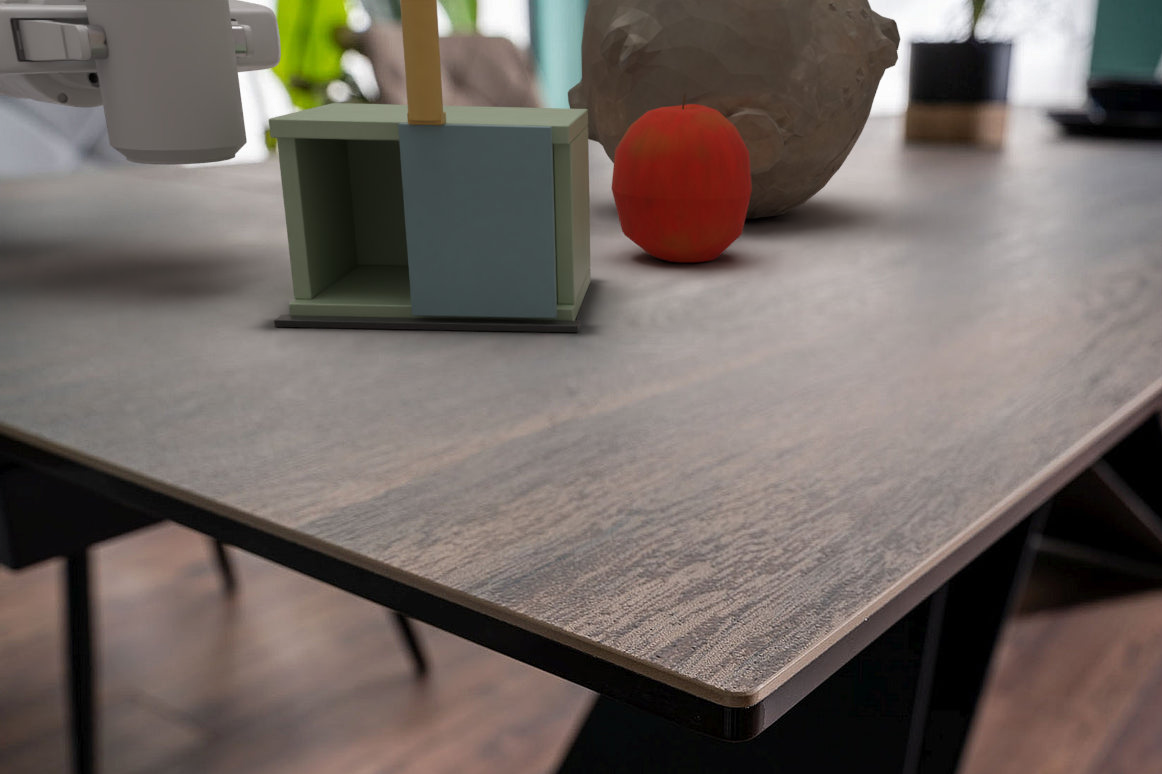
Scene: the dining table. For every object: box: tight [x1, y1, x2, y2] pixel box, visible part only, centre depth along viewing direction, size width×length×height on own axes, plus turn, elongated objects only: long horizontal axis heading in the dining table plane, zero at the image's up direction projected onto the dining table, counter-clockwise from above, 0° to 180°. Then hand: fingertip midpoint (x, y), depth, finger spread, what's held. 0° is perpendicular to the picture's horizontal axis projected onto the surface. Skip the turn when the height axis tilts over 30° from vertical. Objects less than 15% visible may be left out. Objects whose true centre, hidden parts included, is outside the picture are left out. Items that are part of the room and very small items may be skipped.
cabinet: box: [268, 102, 592, 333], centre depth 70 cm, size 17×14×11 cm
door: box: [398, 0, 557, 318], centre depth 62 cm, size 8×2×20 cm, turn 91°
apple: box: [611, 94, 752, 263], centre depth 85 cm, size 10×10×12 cm
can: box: [85, 0, 248, 166], centre depth 69 cm, size 8×8×12 cm
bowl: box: [567, 0, 901, 220], centre depth 104 cm, size 27×29×20 cm
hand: (172, 41), depth 68 cm, fingers closed on can, 7 cm apart
